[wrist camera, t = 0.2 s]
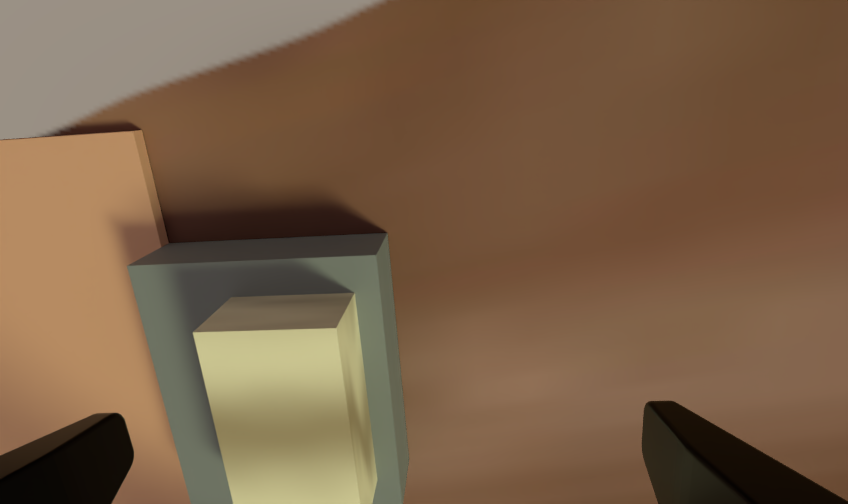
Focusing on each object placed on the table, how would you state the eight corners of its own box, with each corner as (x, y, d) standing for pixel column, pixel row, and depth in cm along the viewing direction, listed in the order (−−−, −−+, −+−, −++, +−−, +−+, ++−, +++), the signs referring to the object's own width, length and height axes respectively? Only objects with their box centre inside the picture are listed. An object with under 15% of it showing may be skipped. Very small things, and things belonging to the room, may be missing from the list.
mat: (238, 534, 28) (233, 543, 27) (38, 532, 29) (30, 541, 28) (141, 129, 21) (132, 131, 21) (-115, 147, 22) (-130, 149, 22)
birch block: (377, 479, 22) (364, 537, 19) (268, 480, 23) (240, 536, 20) (354, 292, 19) (336, 328, 17) (231, 297, 20) (192, 332, 17)
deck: (409, 459, 25) (402, 506, 23) (220, 460, 26) (191, 505, 24) (387, 232, 22) (376, 255, 19) (168, 243, 23) (126, 265, 20)
